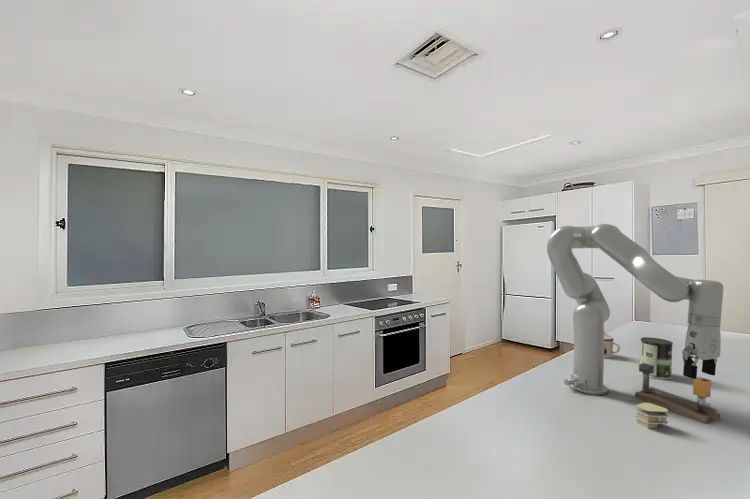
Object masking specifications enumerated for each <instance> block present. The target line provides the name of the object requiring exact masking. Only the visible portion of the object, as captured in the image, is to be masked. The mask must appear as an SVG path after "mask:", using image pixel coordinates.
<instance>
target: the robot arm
mask: <svg viewBox="0 0 750 499" xmlns="http://www.w3.org/2000/svg"><path fill="white" fill-rule="evenodd" d="M573 249H574V250H575V249H599V250H600V251H602V252H603V253H604V254H606V255H607V256H609V257H610V258H611V259H612V260H613V261H615V263H617V264H618V265H619V266H621V267H622V268H624V270H626V271H627V272H628V273H629V274H631V275H632V276H633V277H634V278H635V279H636V280H638V282H639V283H641V284H642V285H644V287H646V288H647V289H649V290H650V292H652V293H653V294H655V295H656V296H658V297H659V298H661V299H662V300H664V301H666V302H670V303H679V302H681V301H685V300H687V301H688V309H687V310H688V312H687V322H686V323H687V324H688V326H687V331H686V335H685V342H684V348H683V349H682V351H681V353H682V359H683V371H682V372H683V373H682V375H683V376H684V377H687V378H690V379H696V378H697V377H698V365H697V364H698V362H699V360H702V364H701V373H703V374H707V375H710V376H716V371H717V370H716V367H717V362H718V358H720V356H721V348H722V347H721V343H722V342H721V338H722V337H721V322H722V310H723V297H724V285H723V283H722V282H720V281H717V280H709V279H692V278H686V277H681V276H675V275H674V274H672V273H671V272H670V271H668V270H667V269H665V267H663V266H662V265H660V264H659V263H658V262H657V261H656V260H654V258H653V257H652V256H651V254H649V252H648V251H647V250H646V249H645V248H644V247H642V246H641V245H640V244H638V243H636V242H635V241H633V240H632V239H631V238H629V236H627V235H625V233H623V232H622V231H621V230H620V228H618V227H617V226H615V225H613V224H609V223H601V224H598V225H592V226H591V225H590V226H573V225H564V226H560V227H558V228H556V229H555V230H554V231H553V232H551V235H550V236H549V238H548V240H547V243H546V252H547V253H546V254H547V256H548V259H549V262H551V265H552V268H553V270H554V272H555V275H556V277H557V278H558V280H559V283H560V286H561V287H562V291H563V292H564V293H565V295H566V296H567V297H568V298H570V299H573V300H575V301H576V303H577V305H576V307H575V308H574V311H573V313H572V314H573V315H572V320H573V322H572V323H573V359H572V360H573V362H572V363H573V366H572V374H570V375H571V377H570V378H567V379H564V381H563V383H564V385H566V386H568V387H569V388H571V389H572V390H574V391H577V392H579V393H583V394H588V395H595V396H601V395H602V396H603V395H606V394H608V392H609V388H608V387H607V385H605V384H604V365H605V363H604V361H605V358H604V331H605V323H606V322H607V321H608V319H609V318H610V315H611V309H610V307H609V303H608V302H607V300H606V298H605V296H604V293H603V292H602V290H601V288H600V286H599V285H598V283H597V281H596V279H595V278H594V276H592V275H590V274H589V273H586V272H584V271H583V269H582V267H581V266H580V265H581V264H580V263H579V261H578V259H577V257H576V256H575V255H574V252H573Z"/></svg>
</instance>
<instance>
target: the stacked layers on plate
mask: <svg viewBox="0 0 750 499" xmlns="http://www.w3.org/2000/svg"><path fill="white" fill-rule="evenodd" d="M635 406H636V407H637V408H636V409H634V411H636V415H635V418H636V423H637V424H638V425H640V426H642V427H644V428H646V429H647V428H648V429H655V428H658V425H666V424H667V425H668V424H669V422H668V421H667V417H669V414H668V413H667V412H669V409H666V408H663V407H661V406H658V405H656V404H653V403H650V402H642V403H638V404H636V405H635ZM635 418H634V419H635ZM654 427H655V428H654Z"/></svg>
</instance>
